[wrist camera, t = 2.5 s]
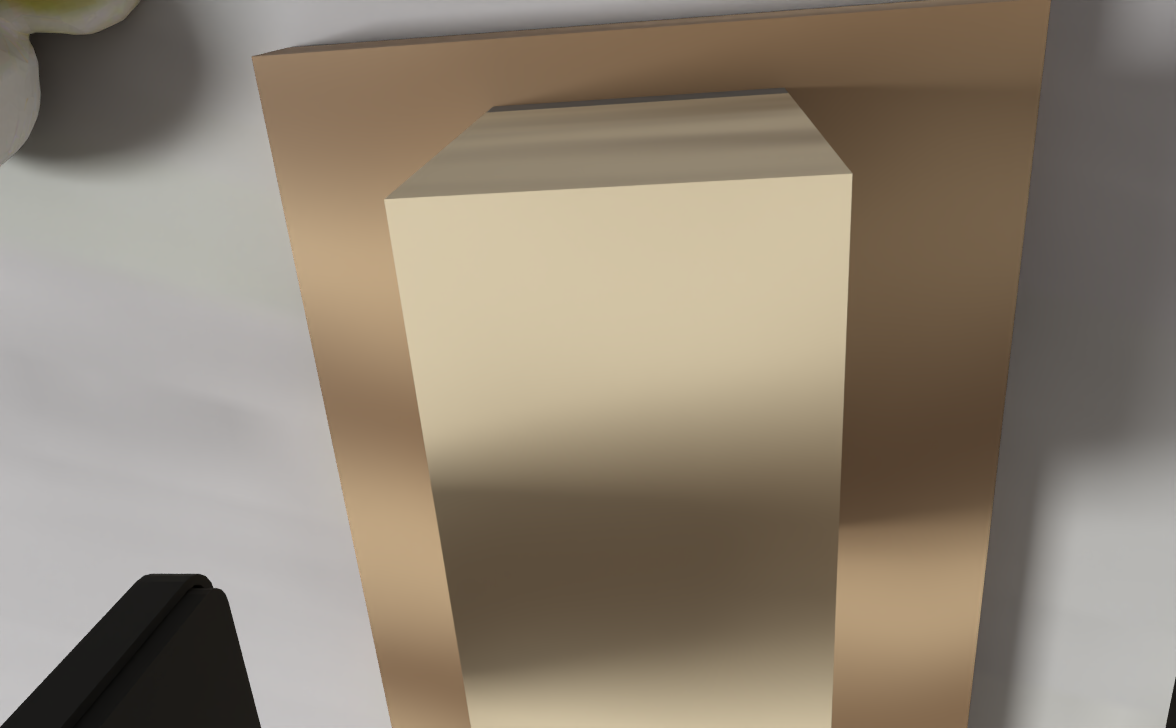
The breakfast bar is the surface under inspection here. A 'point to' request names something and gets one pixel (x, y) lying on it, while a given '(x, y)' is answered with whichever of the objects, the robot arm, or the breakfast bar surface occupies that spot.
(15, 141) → the beige stone
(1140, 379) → the breakfast bar surface
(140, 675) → the robot arm
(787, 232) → the block
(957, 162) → the plank
